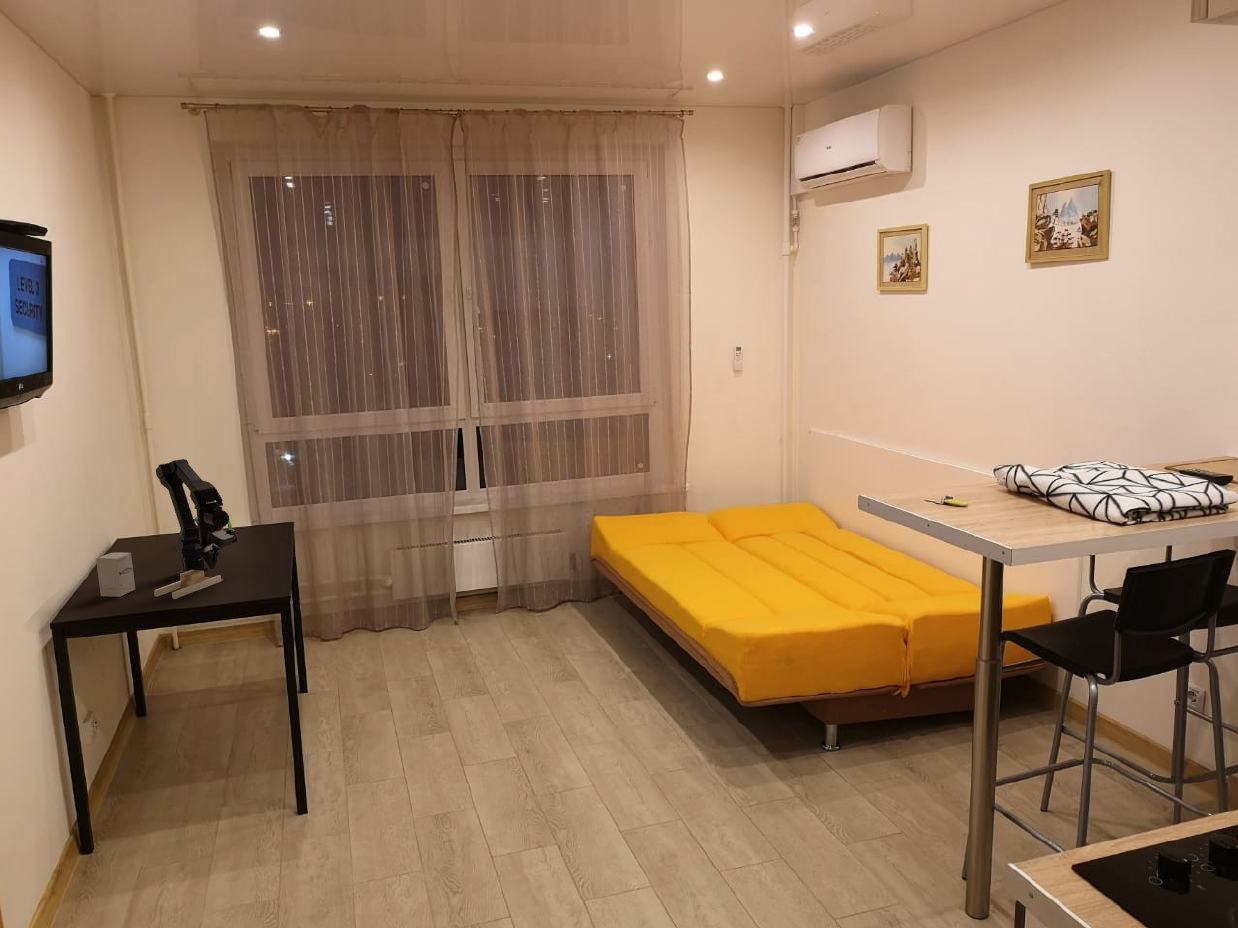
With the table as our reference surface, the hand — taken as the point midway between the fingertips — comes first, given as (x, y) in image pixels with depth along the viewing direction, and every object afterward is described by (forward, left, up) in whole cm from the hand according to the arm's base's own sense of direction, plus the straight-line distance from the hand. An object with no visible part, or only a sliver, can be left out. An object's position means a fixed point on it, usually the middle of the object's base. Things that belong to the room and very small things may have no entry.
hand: (212, 568), depth 315 cm
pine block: (0, -9, -4) cm, 9 cm away
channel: (0, -10, -4) cm, 11 cm away
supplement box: (-19, -21, -4) cm, 29 cm away
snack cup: (-40, +39, -4) cm, 56 cm away
